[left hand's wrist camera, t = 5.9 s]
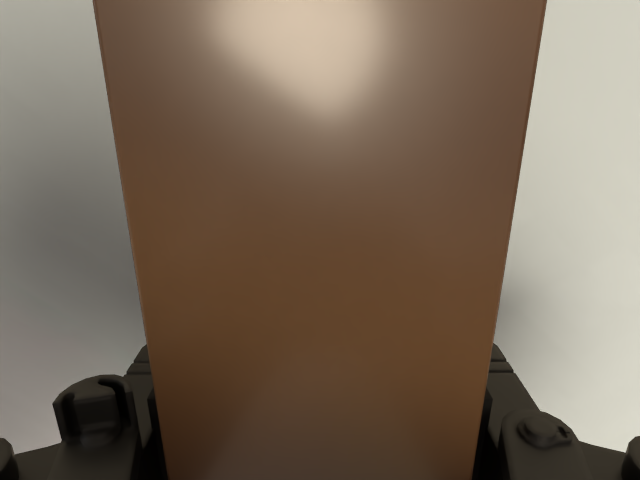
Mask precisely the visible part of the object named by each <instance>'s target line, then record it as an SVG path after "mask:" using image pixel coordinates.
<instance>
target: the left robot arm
mask: <svg viewBox="0 0 640 480" xmlns="http://www.w3.org/2000/svg"><path fill="white" fill-rule="evenodd" d="M53 408H54V412H55V416H56V419H57V423H58V427H59V431H60V435H61V439H62V441H61V443H58V444H55V445H52V446H49V447H45V448H40V449H36V450H32V451H28V452H24V453H19V454H15V455H14V452H13V448H12V445H11V444H10V443H9V442H8V441H7V440H6V439H4V438H0V480H168V475H167V469H166V462H165V456H164V450H163V443H162V437H161V431H160V424H159V418H158V412H157V405H156V399H155V393H154V386H153V380H152V374H151V367H150V361H149V355H148V348H147V345H145V346H144V347H143V348H142V349H141V350H140V352H139V353H138V355H137V357H136V358H135V360H134V363H132V364H131V366H130V367H129V369H128V370H127V374H126V375H124V377H122V376H118V375H99V376H94V377H90V378H86V379H84V380H82V381H79V382H77V383H75V384H73V385H71V386H70V387H68V388H67V389H66V390H64V391H63V392H62V393H60V394H59V396H58V397H57V398H56V400H55V401H54V402H53ZM471 480H640V436H637V437H635V438H634V439H632V440H631V441H630V442H629V444H628V447H627V450H626V453H624V452H620V451H616V450H612V449H607V448H603V447H599V446H595V445H591V444H587V443H584V442H581V441H579V440H578V439H577V437H576V435H575V434H574V432H573V431H572V429H571V428H569V427H568V426H567V425H566V424H565V423H563V422H562V421H561V420H560V419H558V418H556V417H554V416H552V415H550V414H548V413H545V412H542V411H540V410H539V409H538V407H537V406H536V404H535V402H534V401H533V399H532V398H531V396H530V395H529V393H528V392H527V390H526V389H525V387H524V386H523V384H522V383H521V381H520V380H519V378H518V377H517V375H516V374H515V373H514V372H513V369H512V367H511V366H510V364H509V363H508V362H506V358H505V357H504V355H503V354H502V352H501V351H500V349H499V348H498V346H497V345H495V344H494V343H493V346H492V352H491V359H490V365H489V371H488V378H487V384H486V391H485V397H484V403H483V410H482V416H481V422H480V429H479V435H478V441H477V448H476V454H475V460H474V467H473V473H472V479H471Z"/></svg>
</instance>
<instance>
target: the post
mask: <svg viewBox="0 0 640 480" xmlns="http://www.w3.org/2000/svg"><path fill="white" fill-rule="evenodd" d="M546 3H547V0H93V6H94V12H95V19H96V25H97V31H98V38H99V44H100V50H101V57H102V63H103V69H104V76H105V82H106V88H107V95H108V101H109V107H110V114H111V120H112V126H113V133H114V139H115V145H116V152H117V158H118V164H119V171H120V177H121V183H122V190H123V196H124V202H125V209H126V215H127V222H128V228H129V234H130V241H131V247H132V253H133V260H134V266H135V272H136V279H137V285H138V291H139V298H140V304H141V310H142V317H143V323H144V329H145V336H146V342H147V348H148V355H149V361H150V367H151V374H152V380H153V386H154V393H155V399H156V405H157V412H158V418H159V424H160V431H161V437H162V443H163V450H164V456H165V462H166V469H167V475H168V480H471V479H472V473H473V467H474V460H475V454H476V448H477V441H478V435H479V429H480V422H481V416H482V410H483V403H484V397H485V391H486V384H487V378H488V371H489V365H490V359H491V352H492V346H493V340H494V333H495V327H496V321H497V314H498V308H499V302H500V295H501V289H502V283H503V276H504V270H505V264H506V257H507V251H508V245H509V238H510V232H511V226H512V219H513V213H514V206H515V200H516V194H517V187H518V181H519V175H520V168H521V162H522V156H523V149H524V143H525V137H526V130H527V124H528V118H529V111H530V105H531V99H532V92H533V86H534V80H535V73H536V67H537V61H538V54H539V48H540V41H541V35H542V29H543V22H544V16H545V10H546Z"/></svg>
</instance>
